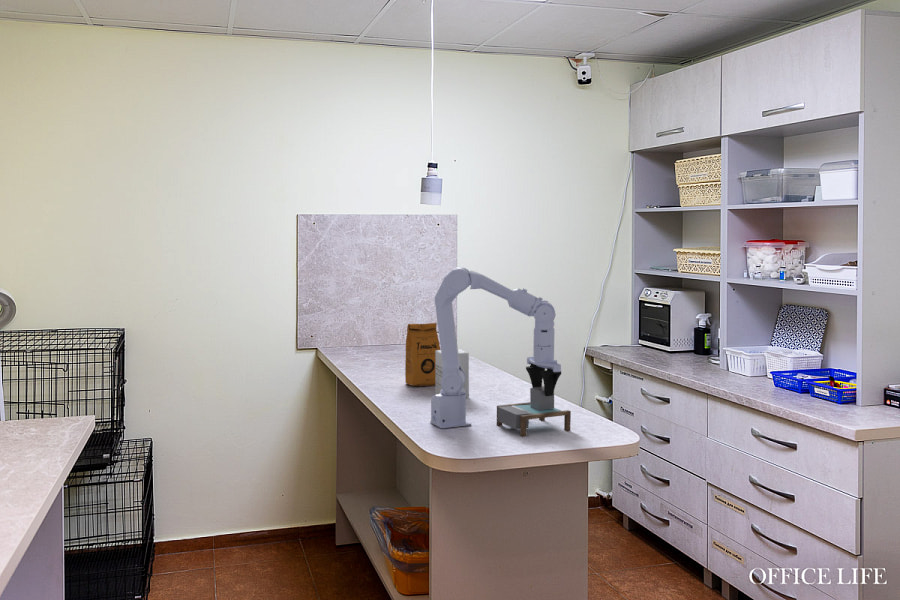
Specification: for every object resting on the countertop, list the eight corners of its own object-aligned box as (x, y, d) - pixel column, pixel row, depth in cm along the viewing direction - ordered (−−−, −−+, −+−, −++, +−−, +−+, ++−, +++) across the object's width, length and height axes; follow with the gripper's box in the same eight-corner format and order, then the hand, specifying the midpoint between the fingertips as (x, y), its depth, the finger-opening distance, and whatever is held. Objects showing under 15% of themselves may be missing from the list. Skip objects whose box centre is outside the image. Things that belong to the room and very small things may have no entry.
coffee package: (444, 386, 277) (444, 324, 275) (409, 388, 273) (409, 325, 271) (436, 381, 286) (436, 320, 284) (403, 383, 283) (403, 321, 281)
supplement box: (460, 392, 267) (460, 348, 266) (469, 398, 259) (469, 352, 257) (434, 394, 264) (434, 349, 263) (442, 399, 256) (443, 353, 254)
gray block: (538, 410, 218) (538, 391, 217) (530, 407, 222) (530, 388, 221) (554, 408, 220) (554, 388, 219) (545, 405, 224) (545, 386, 223)
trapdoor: (516, 429, 211) (517, 414, 211) (496, 420, 221) (497, 406, 221) (563, 425, 218) (564, 411, 218) (542, 416, 228) (542, 403, 227)
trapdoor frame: (522, 436, 211) (522, 416, 210) (496, 424, 223) (496, 405, 223) (570, 430, 217) (570, 411, 217) (542, 419, 230) (542, 400, 229)
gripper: (570, 347, 215) (569, 397, 216) (542, 340, 228) (541, 387, 229) (548, 349, 212) (547, 399, 213) (520, 342, 225) (520, 389, 226)
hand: (542, 393), depth 221 cm, fingers open, 6 cm apart
